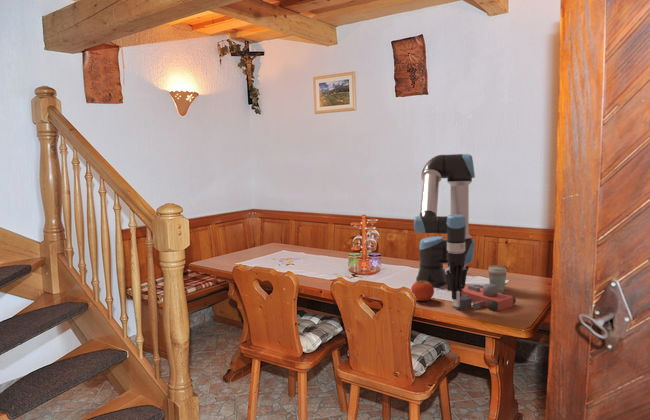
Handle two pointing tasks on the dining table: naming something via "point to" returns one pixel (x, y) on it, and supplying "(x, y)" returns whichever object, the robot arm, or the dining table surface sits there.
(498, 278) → the coffee cup
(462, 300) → the grey cube
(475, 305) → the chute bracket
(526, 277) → the dining table surface
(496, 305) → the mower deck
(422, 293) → the tomato
